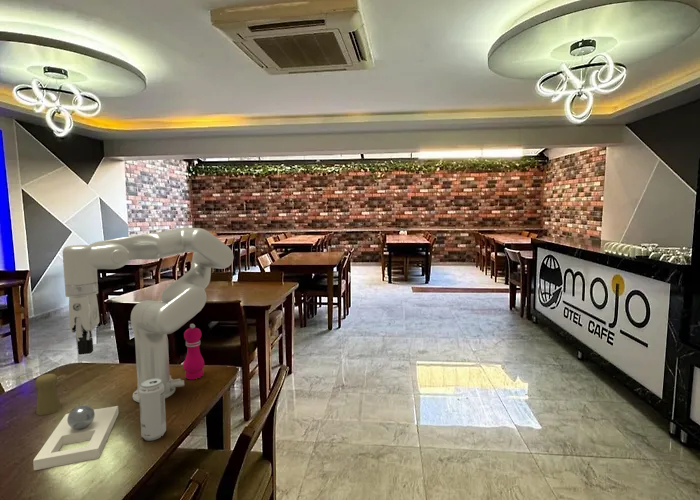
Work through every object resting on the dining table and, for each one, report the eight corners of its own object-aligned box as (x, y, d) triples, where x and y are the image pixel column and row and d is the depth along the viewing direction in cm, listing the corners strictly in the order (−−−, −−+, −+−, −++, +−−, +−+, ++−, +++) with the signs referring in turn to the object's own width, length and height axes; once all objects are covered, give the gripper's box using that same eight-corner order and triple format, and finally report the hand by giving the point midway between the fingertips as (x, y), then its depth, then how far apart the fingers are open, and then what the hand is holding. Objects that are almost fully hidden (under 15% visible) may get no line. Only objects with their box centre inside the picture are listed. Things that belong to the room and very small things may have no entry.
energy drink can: (142, 432, 104) (139, 379, 103) (166, 426, 107) (164, 375, 105) (140, 444, 99) (137, 389, 97) (166, 438, 101) (163, 384, 100)
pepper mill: (191, 382, 134) (189, 327, 132) (179, 377, 138) (177, 324, 136) (209, 375, 140) (207, 322, 138) (196, 371, 144) (194, 319, 142)
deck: (118, 413, 113) (118, 405, 113) (98, 458, 93) (98, 448, 93) (66, 422, 109) (66, 413, 109) (33, 470, 88) (33, 460, 88)
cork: (47, 416, 112) (44, 380, 111) (30, 413, 113) (27, 378, 112) (66, 406, 118) (63, 372, 117) (50, 404, 119) (47, 370, 118)
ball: (98, 419, 106) (96, 399, 105) (91, 431, 100) (90, 410, 99) (72, 424, 103) (70, 403, 103) (64, 436, 98) (62, 414, 97)
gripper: (89, 293, 100) (93, 360, 102) (104, 284, 114) (107, 343, 116) (55, 295, 97) (60, 364, 99) (74, 285, 111) (78, 346, 113)
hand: (85, 352), depth 107 cm, fingers closed
